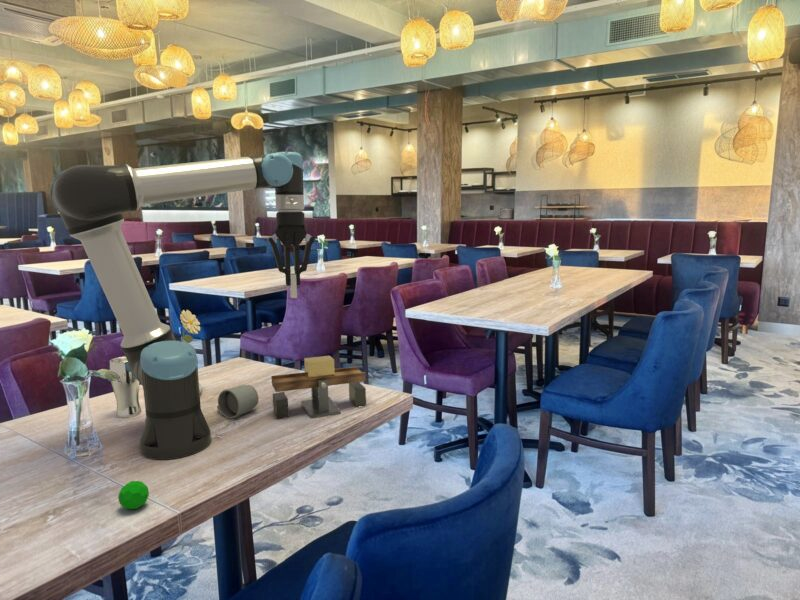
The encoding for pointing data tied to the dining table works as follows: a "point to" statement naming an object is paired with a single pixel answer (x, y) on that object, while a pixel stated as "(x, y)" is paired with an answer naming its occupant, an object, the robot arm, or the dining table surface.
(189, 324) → the flower in vase
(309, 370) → the block
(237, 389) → the ceramic mug
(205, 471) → the dining table surface
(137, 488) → the polyhedron
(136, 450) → the dining table surface
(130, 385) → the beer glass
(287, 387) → the beam
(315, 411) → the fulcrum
